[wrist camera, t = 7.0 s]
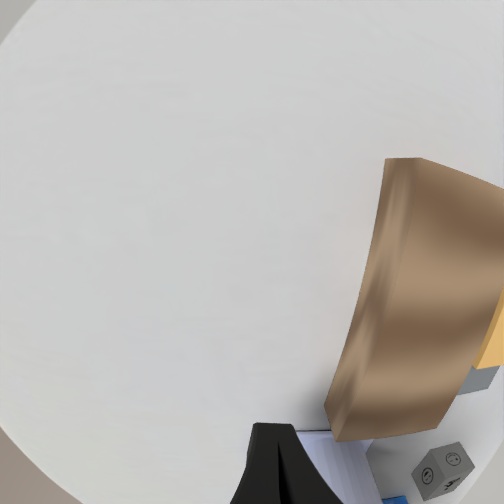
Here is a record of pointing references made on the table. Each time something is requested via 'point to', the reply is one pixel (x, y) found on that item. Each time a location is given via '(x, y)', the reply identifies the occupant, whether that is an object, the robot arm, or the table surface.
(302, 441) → the robot arm
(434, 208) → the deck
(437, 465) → the dice cube
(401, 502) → the ink box
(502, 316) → the yellow orange block
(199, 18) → the table surface
